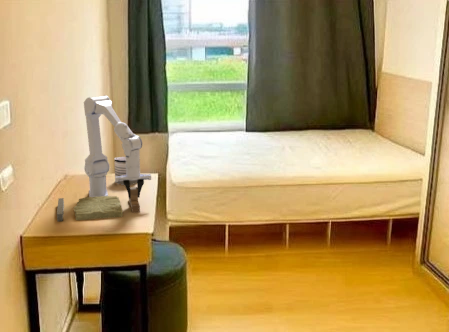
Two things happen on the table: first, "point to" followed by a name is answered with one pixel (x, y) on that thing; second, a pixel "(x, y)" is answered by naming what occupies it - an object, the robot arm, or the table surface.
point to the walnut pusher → (134, 200)
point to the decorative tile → (98, 208)
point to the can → (121, 169)
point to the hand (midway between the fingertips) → (134, 197)
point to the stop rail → (60, 209)
